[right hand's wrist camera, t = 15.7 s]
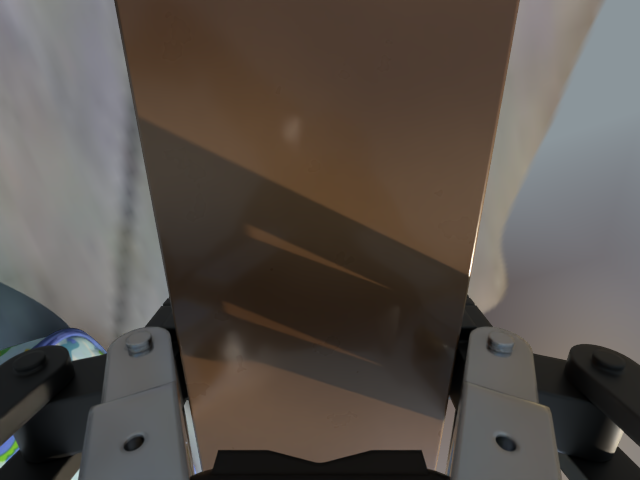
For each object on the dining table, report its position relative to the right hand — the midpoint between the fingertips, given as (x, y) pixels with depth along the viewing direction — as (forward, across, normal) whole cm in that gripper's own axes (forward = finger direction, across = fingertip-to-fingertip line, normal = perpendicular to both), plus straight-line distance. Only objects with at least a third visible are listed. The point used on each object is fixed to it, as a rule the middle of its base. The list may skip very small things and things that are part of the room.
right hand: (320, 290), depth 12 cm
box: (+7, 0, +7) cm, 10 cm away
